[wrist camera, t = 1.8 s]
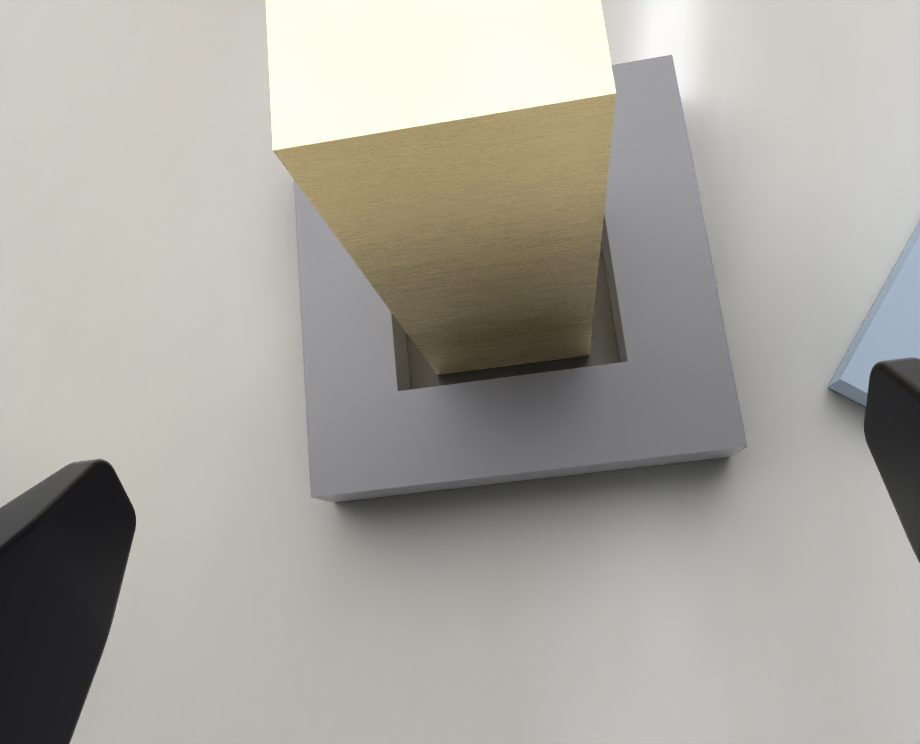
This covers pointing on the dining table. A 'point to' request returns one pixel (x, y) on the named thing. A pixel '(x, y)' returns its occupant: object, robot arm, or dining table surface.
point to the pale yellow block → (455, 161)
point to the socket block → (548, 393)
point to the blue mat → (885, 326)
